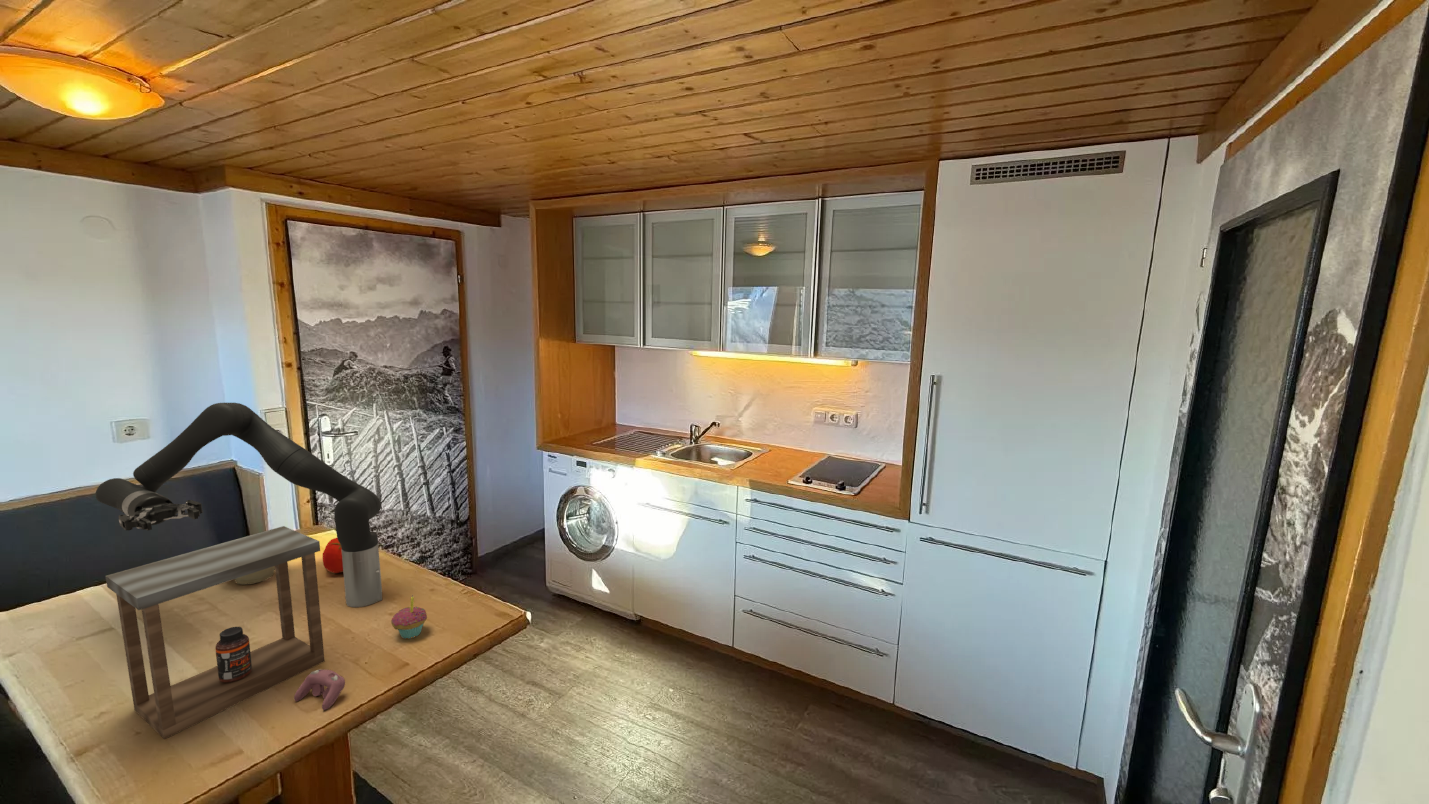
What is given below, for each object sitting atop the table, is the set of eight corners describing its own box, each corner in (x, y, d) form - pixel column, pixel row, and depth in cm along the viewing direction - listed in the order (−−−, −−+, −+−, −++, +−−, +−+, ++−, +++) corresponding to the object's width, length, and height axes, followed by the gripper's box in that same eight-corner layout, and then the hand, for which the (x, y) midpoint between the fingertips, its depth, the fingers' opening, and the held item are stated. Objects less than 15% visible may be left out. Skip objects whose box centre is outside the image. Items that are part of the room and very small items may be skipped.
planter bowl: (260, 591, 172) (256, 558, 170) (208, 589, 172) (203, 556, 170) (299, 567, 188) (296, 536, 186) (251, 565, 188) (248, 535, 186)
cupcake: (435, 630, 155) (432, 589, 153) (406, 646, 147) (403, 604, 145) (413, 622, 158) (411, 582, 156) (385, 637, 151) (382, 596, 149)
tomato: (319, 568, 188) (317, 538, 186) (365, 556, 197) (362, 528, 195) (328, 583, 178) (325, 552, 176) (375, 570, 187) (373, 540, 186)
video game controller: (341, 707, 127) (351, 674, 129) (323, 711, 123) (334, 676, 125) (308, 697, 130) (319, 665, 132) (290, 701, 125) (301, 667, 127)
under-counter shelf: (127, 712, 121) (105, 575, 116) (295, 638, 149) (283, 526, 144) (158, 743, 113) (136, 598, 108) (330, 659, 141) (319, 541, 135)
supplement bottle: (233, 686, 127) (227, 640, 125) (212, 681, 129) (206, 636, 127) (259, 669, 133) (254, 625, 131) (238, 665, 134) (233, 622, 132)
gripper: (105, 501, 137) (130, 514, 129) (181, 486, 149) (208, 497, 142) (110, 530, 138) (135, 545, 131) (185, 512, 151) (212, 525, 143)
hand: (173, 520), depth 136 cm, fingers open, 8 cm apart
